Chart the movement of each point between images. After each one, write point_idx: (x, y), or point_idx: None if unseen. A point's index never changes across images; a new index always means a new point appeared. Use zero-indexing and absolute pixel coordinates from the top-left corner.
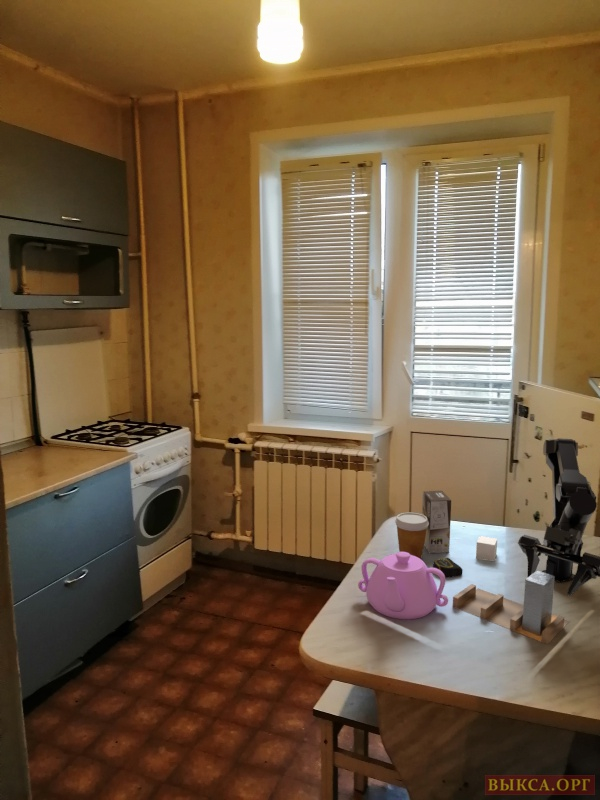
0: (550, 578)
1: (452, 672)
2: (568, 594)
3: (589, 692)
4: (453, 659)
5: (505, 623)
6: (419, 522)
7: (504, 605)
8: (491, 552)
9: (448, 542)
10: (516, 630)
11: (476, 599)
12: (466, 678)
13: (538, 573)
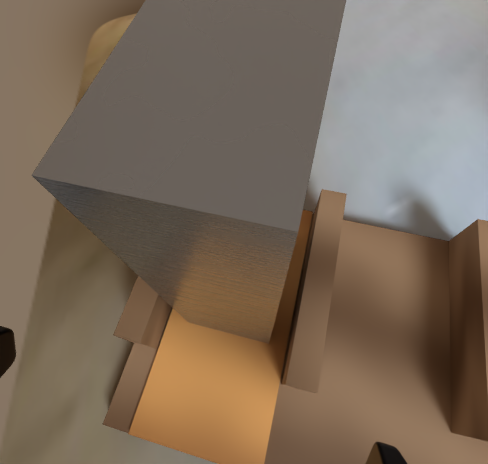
0: (96, 93)
1: (388, 13)
2: (7, 331)
3: (90, 76)
4: (412, 47)
5: (365, 251)
6: None
7: (442, 432)
8: None
9: None
10: (309, 213)
11: None
12: (352, 11)
13: (254, 148)
